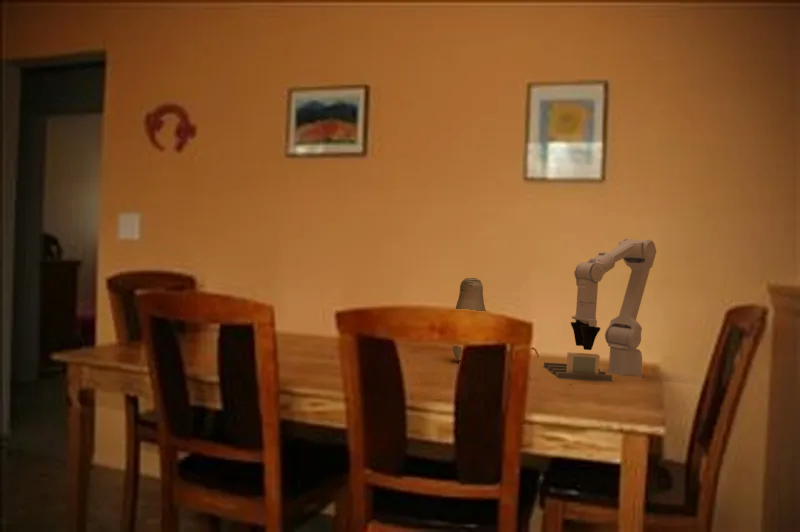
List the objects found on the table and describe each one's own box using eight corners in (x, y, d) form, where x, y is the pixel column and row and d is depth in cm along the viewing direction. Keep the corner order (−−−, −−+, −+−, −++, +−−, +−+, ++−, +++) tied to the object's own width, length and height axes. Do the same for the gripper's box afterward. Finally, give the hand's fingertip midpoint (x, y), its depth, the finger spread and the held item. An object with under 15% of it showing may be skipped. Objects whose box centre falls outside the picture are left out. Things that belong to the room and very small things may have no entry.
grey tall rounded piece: (463, 358, 214) (468, 276, 213) (488, 363, 207) (493, 279, 207) (445, 361, 207) (450, 276, 206) (471, 366, 200) (476, 279, 199)
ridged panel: (591, 371, 204) (591, 364, 204) (613, 385, 184) (613, 376, 184) (542, 369, 204) (542, 361, 203) (559, 382, 184) (559, 373, 183)
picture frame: (595, 377, 190) (597, 354, 190) (598, 378, 187) (599, 355, 187) (565, 375, 190) (567, 352, 189) (568, 377, 187) (569, 353, 187)
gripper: (566, 299, 195) (563, 343, 195) (580, 303, 181) (577, 350, 181) (588, 301, 195) (585, 344, 196) (605, 305, 181) (601, 352, 181)
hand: (583, 347), depth 188 cm, fingers open, 7 cm apart
